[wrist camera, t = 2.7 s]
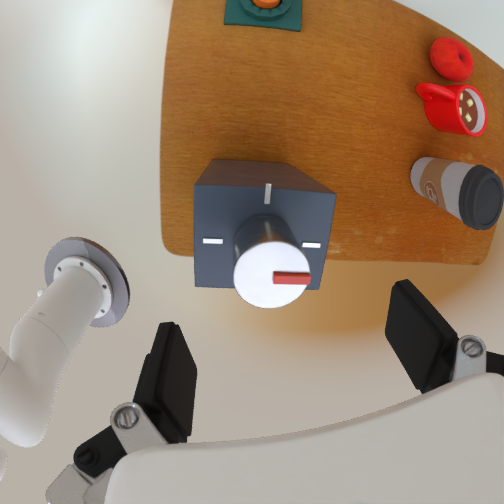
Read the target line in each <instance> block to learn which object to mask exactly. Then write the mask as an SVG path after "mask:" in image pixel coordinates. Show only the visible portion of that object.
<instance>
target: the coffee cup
mask: <svg viewBox="0 0 504 504" xmlns="http://www.w3.org/2000/svg"><path fill="white" fill-rule="evenodd" d="M411 183H412V185H413V187H414V189H415V191H416V192H417V193H419V194H420V195H422V196H423V197H425V198H426V199H428V200H429V201H431V202H432V203H434V204H436V205H437V206H439V207H441V208H442V209H444V210H445V211H447V212H448V213H451V214H453V215H454V216H456V217H457V218H459V219H460V220H462V221H463V223H464V224H465V225H467V226H468V227H472V228H473V229H476V230H480V229H481V230H487V229H489V228H491V227H492V226H493V225H494V224H495V223H496V221H497V220H498V218H499V216H500V213H501V210H502V206H503V201H504V189H503V185H502V182H501V180H500V178H499V177H498V175H496V174H495V173H494V172H493V171H492V170H491V169H489V168H487V167H485V166H483V165H472V164H467V163H462V162H459V161H454V160H448V159H441V158H432V157H423V158H420V159H419V160H417V161H416V162H415V163H414V165H413V167H412V169H411Z"/></svg>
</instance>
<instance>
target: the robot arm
mask: <svg viewBox="0 0 504 504" xmlns="http://www.w3.org/2000/svg"><path fill="white" fill-rule="evenodd" d="M53 279H54V281H53V282H52V283H51V284H50V285H49V286H48V288H47V289H40V290H38V292H37V295H38V299H37V300H36V301H35V302H34V303H33V305H32V306H31V307H30V308H29V309H28V311H27V312H26V313H25V314H24V315H23V317H22V318H21V319H20V320H19V321H18V323H17V324H16V326H15V327H14V329H13V331H12V334H11V338H10V350H9V352H10V357H9V356H7V355H6V353H5V352H4V351H3V350H2V349H1V348H0V435H1V436H2V437H4V438H5V439H6V440H8V441H10V442H12V443H14V444H16V445H18V446H21V447H33V446H35V445H37V444H38V443H39V442H41V440H42V439H43V437H44V436H45V433H46V431H47V428H48V425H49V420H50V415H51V410H52V405H53V400H54V397H55V394H56V391H57V388H58V385H59V383H60V380H61V378H62V376H63V374H64V372H65V370H66V368H67V366H68V364H69V362H70V360H71V358H72V356H73V355H74V353H75V351H76V349H77V347H78V345H79V344H80V342H81V340H82V338H83V336H84V335H85V333H86V331H87V329H88V328H89V326H90V324H91V323H92V321H93V319H95V318H100V317H102V316H104V315H105V314H106V313H107V312H108V310H109V309H110V307H111V305H112V301H113V292H112V288H111V285H110V282H109V280H108V279H107V277H106V275H105V274H104V273H103V271H102V270H101V269H100V268H99V267H98V266H97V265H95V264H94V263H93V262H91V261H90V260H88V259H86V258H83V257H80V256H69V257H66V258H64V259H63V260H62V261H60V262H59V264H58V265H57V266H56V268H55V271H54V277H53ZM385 336H386V338H387V340H388V341H389V343H390V345H391V346H392V348H393V350H394V351H395V353H396V355H397V356H398V358H399V360H400V362H401V363H402V365H403V367H404V368H405V370H406V372H407V374H408V375H409V377H410V379H411V381H412V383H413V384H414V386H415V388H416V389H417V390H418V389H419V390H420V391H421V393H422V395H419V396H417V397H414V398H412V399H410V400H407V401H404V402H402V403H399V404H397V405H394V406H391V407H388V408H385V409H383V410H380V411H377V412H374V413H371V414H367V415H364V416H361V417H357V418H354V419H350V420H347V421H343V422H339V423H336V424H331V425H327V426H323V427H319V428H314V429H310V430H305V431H300V432H294V433H289V434H282V435H276V436H270V437H262V438H254V439H244V440H233V441H221V442H204V443H186V442H187V436H190V435H191V431H192V420H193V409H194V399H195V389H196V380H197V368H196V364H195V362H194V360H193V358H192V355H191V353H190V351H189V348H188V346H187V344H186V341H185V339H184V336H183V334H182V331H181V329H180V327H179V325H178V324H177V325H175V323H174V322H164V323H160V324H159V327H158V330H157V333H156V337H155V340H154V343H153V346H152V349H151V353H150V354H147V355H146V357H145V360H144V364H143V367H142V370H141V374H140V377H139V381H138V384H137V388H136V391H135V395H134V399H133V402H132V403H131V402H127V403H123V404H121V405H119V406H117V407H116V408H115V409H114V411H113V412H112V414H111V416H110V423H111V425H110V426H109V427H107V428H106V429H104V430H103V431H101V432H100V433H98V434H97V435H95V436H94V437H92V438H91V439H89V440H87V441H86V442H84V443H83V444H81V445H80V446H79V447H77V449H76V451H75V453H74V463H73V465H70V464H69V465H68V466H67V467H66V468H65V469H64V470H63V471H62V472H61V474H60V475H59V476H58V477H57V478H56V479H55V480H54V482H53V483H52V484H51V485H50V486H49V487H48V489H47V490H46V495H45V496H46V500H47V502H48V504H504V355H500V354H496V353H492V352H488V351H486V346H485V344H484V342H483V341H482V340H481V339H480V338H478V337H476V336H473V335H466V336H463V337H461V338H460V339H459V338H458V337H457V333H456V332H455V331H454V330H453V328H452V327H451V326H450V325H449V324H448V322H447V321H446V320H445V319H444V318H443V317H442V316H441V314H440V313H439V312H438V311H437V310H436V309H435V308H434V307H433V305H432V304H431V303H430V302H429V301H428V300H427V299H426V298H425V296H424V295H423V294H422V293H421V292H420V291H419V290H418V289H417V288H416V287H415V286H414V285H413V284H412V283H411V282H410V281H409V280H408V279H405V280H401V281H397V282H396V283H395V285H394V286H393V287H392V290H391V298H390V304H389V310H388V316H387V322H386V328H385ZM178 443H180V444H178ZM6 468H7V454H6V452H5V450H4V448H3V446H2V445H1V444H0V481H1V479H2V477H3V475H4V473H5V471H6Z"/></svg>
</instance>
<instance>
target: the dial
mask: <svg viewBox="0 0 504 504" xmlns="http://www.w3.org/2000/svg"><path fill="white" fill-rule="evenodd" d="M310 280H311V275H310V265H309V262H308V259H307V257H306V256H305V254H304V252H303V250H302V248H301V247H300V245H299V243H298V241H297V239H296V238H295V236H294V234H293V232H292V230H291V229H290V227H289V225H288V224H287V223H286V222H285V221H284V220H283V219H281V218H279V217H278V216H275V215H272V214H257V215H253V216H251V217H249V218H247V219H245V220H244V221H243V222H242V223H241V224H240V225H239V226H238V227H237V229H236V231H235V233H234V236H233V283H234V286H235V289H236V291H237V293H238V294H239V295H240V297H241V298H242V299H243V300H245V301H246V302H247V303H249V304H251V305H253V306H256V307H259V308H266V309H271V308H278V307H282V306H285V305H287V304H289V303H291V302H293V301H294V300H296V299H297V298H298V297H299V296H300V295H301V294H302V293H303V291H304V290H305V289H306V287H307V285H310Z"/></svg>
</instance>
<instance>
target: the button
mask: <svg viewBox="0 0 504 504" xmlns="http://www.w3.org/2000/svg"><path fill="white" fill-rule="evenodd" d="M252 1H253V3H254V4H255V5H256V6H258V7H260V8H264V9H270V8H274V7H276V6H277V5H278V4H279V2H280V0H252Z"/></svg>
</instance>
